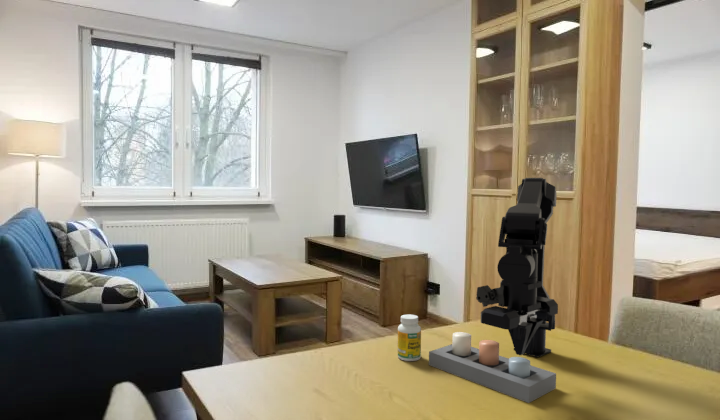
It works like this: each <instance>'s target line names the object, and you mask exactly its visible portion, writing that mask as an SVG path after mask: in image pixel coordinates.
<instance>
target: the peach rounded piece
mask: <svg viewBox="0 0 720 420" xmlns="http://www.w3.org/2000/svg"><path fill="white" fill-rule="evenodd" d="M478 343H479V344H478V349H479V362H480V363H482V364H485V365H497V364H499V356H500V342H498V341H497V340H492V339H481V340H479V342H478Z"/></svg>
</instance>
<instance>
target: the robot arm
mask: <svg viewBox="0 0 720 420" xmlns="http://www.w3.org/2000/svg"><path fill="white" fill-rule="evenodd" d="M517 186H518V187H517V193H516V194H517V196H516V197H517V198H516V204H515V205H514V206H510V207H509V208H507V210H506V213H505V215H504V216H502V219H501V224H500V229H499V230H500V231H499V237H498V247H499V248H506V251H505V252H506V253H505V254H504V255H502V256H501V258H500V259H499V261H498V263H497V273H498V275H499V277H500V278H501V281H500V283H499V284H500V286H499V287H495V288H491V287H490V286H489V285H488V284H486V285H482V286H478V287H476V300H477V302H479V303H480V304H482V307H483V310H482V311H481V312H480V323H481V324H483V325H487V326H489V327H490V326H491V327H494V328H499V329H502V330H508V333H509V336H510V338H511V341H512V345H513V351H515V354H516V355H518V356H523V355H524V354H526V355H529V356H532V357H535V358H540V357H543V356H546V355H548V354H549V353H550V354H551V353H552V349H551V348H547V347H546V343H547V342H546V339H547V338H546V337H547V334H546V333H547V331H549V332H552V330H556V315H559V313H558V312H559V304H558V303H557V301H556V300H555V299H554V298H550V295H549V293H548V292H547V290H546V288H545V286H544V276H545V275H544V272H545V271H544V270H545V246H546V244H547V243H546V240H547V232H548V224H547V223H548V221H549V220H550V219H551V218H552V216H553V214H554V208H555V207H556V206H557V196H558V195H557V187H556V185H555V186H554V185H553V184H551V183H550V182H547V178H543V177H525V178H522V179H521V184H519V185H517ZM495 304H498V306H497V305H495ZM491 305H494V306H491ZM488 306H489V307H488ZM484 307H486V308H484Z"/></svg>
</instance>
